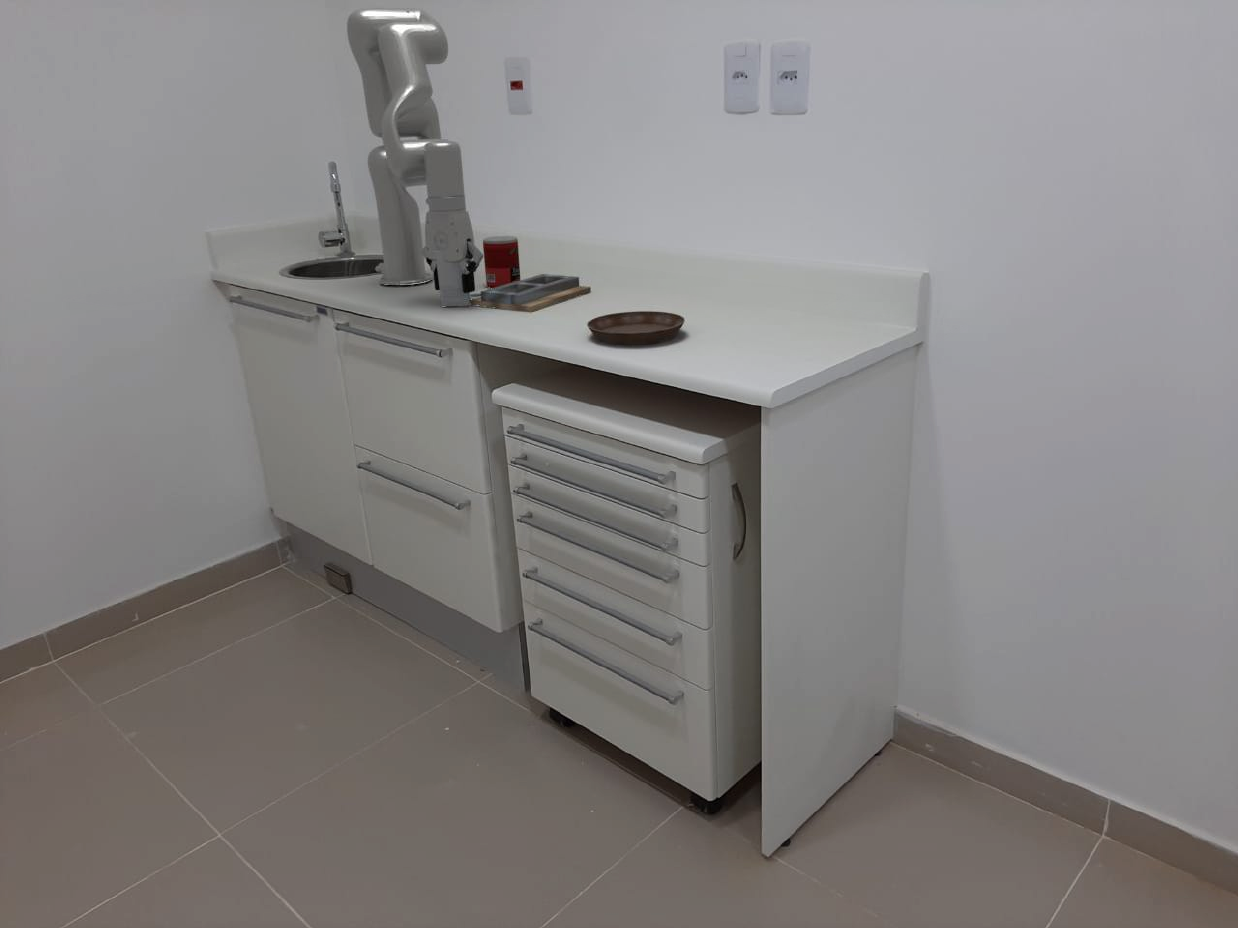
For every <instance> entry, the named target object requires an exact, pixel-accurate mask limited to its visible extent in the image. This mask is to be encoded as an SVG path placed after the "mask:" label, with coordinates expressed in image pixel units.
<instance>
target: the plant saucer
mask: <svg viewBox="0 0 1238 928" xmlns="http://www.w3.org/2000/svg"><path fill="white" fill-rule="evenodd" d="M684 324H685V318H684V317H683V316H682V315H680V314H676V313H673V312H667V311H666V312H664V311H652V310H645V311H644V310H641V311H639V310H638V311H624V312H615V313H610V314H605V315H601V316H597V317H595V318H592V319H590V320H589V321H587V323H586V326H587V327H588V329H589V331H590V332H591V334H592V335H593V336H594V337H595V338H596V339H598V340H599V341H600V342H603V343H605V344H611V345H619V346H640V345H641V346H642V345H650V344H658V343H661V342H662V343H663V342H665V341H668V340H671V339H672V338H673V337H675V336H676V335H677V334H678V332H679V331H680V330H681V328H682V327H683V325H684Z"/></svg>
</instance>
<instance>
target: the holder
mask: <svg viewBox="0 0 1238 928" xmlns="http://www.w3.org/2000/svg"><path fill="white" fill-rule="evenodd" d="M480 293H481V297H479V298H475V299H472V300H470V306H471V305H479V306H486V307H485V308H488V307H495V308H494V309H497V308H502V309H501V310H506V309H510V310H509V311H515V310H516V311H517V312H525V313H526V312H527V313H532V312H536V311H539V310H542V309H545V308H548V307H552V306H553V305H557V304H560V303H563V302H566V301H568V299H569V300H572V299H575V298H577V296H578V297H581V296H585V295H587V294H590V293H592V289H591V286H583V285H580V276H573V275H572V276H571V275H560V274H559V275H558V274H547V273H541V274H539V275H535V276H531V277H526V278H524V279H520V281H516V282H513V283H509V284H506V285H502V286H499V287H495V288H492V289H490V288H488V290H485V291H481V292H480ZM580 295H581V296H580ZM574 297H575V298H574ZM571 298H572V299H571ZM479 306H478V307H479ZM516 311H515V312H516Z"/></svg>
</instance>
